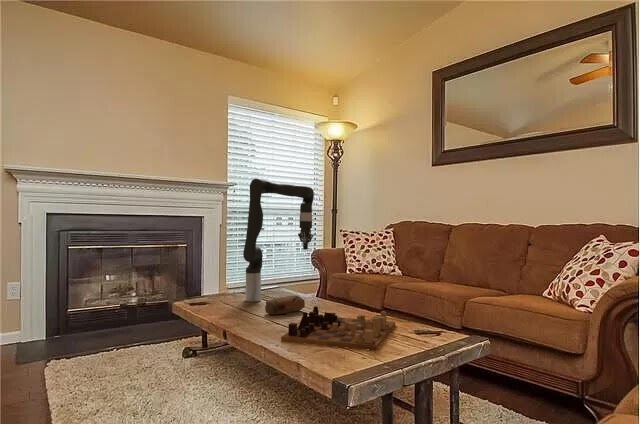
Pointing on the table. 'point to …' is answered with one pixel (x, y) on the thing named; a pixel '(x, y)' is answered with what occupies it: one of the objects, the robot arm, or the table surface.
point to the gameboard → (339, 330)
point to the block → (284, 305)
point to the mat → (292, 313)
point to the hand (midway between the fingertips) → (305, 249)
